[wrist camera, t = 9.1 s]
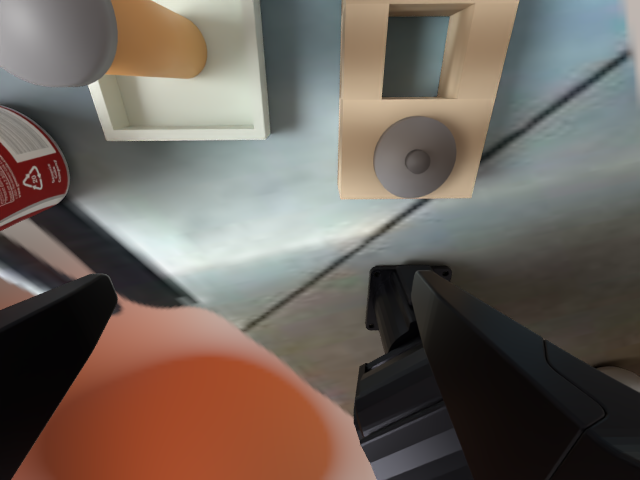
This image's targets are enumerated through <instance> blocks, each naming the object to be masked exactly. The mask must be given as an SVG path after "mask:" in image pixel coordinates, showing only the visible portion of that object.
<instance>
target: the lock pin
mask: <svg viewBox="0 0 640 480" xmlns="http://www.w3.org/2000/svg"><path fill="white" fill-rule="evenodd" d="M206 61H207V46H206V42H205V39H204V37H203V35H202V33H201V31H200V30H199V29H198V27H197V26H196V25H195V24H194V23H193V22H192V21H190V20H189V19H187V18H185V17H183V16H181V15H179V14H177V13H175V12H173V11H171V10H169V9H167V8H165V7H163V6H162V5H160V4H158V3H156V2H154V1H152V0H0V67H2V68H3V69H4V70H6V71H7V72H9V73H11V74H12V75H14V76H16V77H18V78H20V79H22V80H24V81H27V82H29V83H32V84H36V85H40V86H45V87H80V86H85V85H89V84H91V83H94V82H96V81H97V80H99V79H100V78H101V77H103V75H104V74H106V75H125V76H143V77H162V78H180V79H189V78H193V77H195V76H197V75H198V74H199V73H200V72H201V71H202V70H203V68H204V67H205V64H206Z"/></svg>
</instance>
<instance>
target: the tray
mask: <svg viewBox="0 0 640 480" xmlns="http://www.w3.org/2000/svg"><path fill="white" fill-rule="evenodd" d="M152 1H154V2H156V3H158V4H160V5H162V6H163V7H165V8H167V9H169V10H171V11H173V12H175V13H177V14H179V15H181V16H183V17H185V18H187V19H189V20H190V21H192V22H193V23H194V24H195V25H196V26H197V27H198V29H199V30H200V31H201V33H202V35H203V37H204V39H205V42H206V46H207V61H206V64H205V67H204V68H203V70H202V71H201V72H200V73H199V74H198V75H197V76H195V77H193V78H189V79H180V78H162V77H143V76H125V75H106V74H104V75H103V77H101V78H100V79H99V80H97V81H96V82H94V83H91V84H89V85H88V87H89V90H90V93H91V96H92V99H93V102H94V105H95V108H96V111H97V114H98V117H99V120H100V123H101V126H102V129H103V132H104V135H105V138H106V141H180V140H266V139H267V138H268V136H269V135H270V134H271V132H270V119H269V107H268V94H267V82H266V69H265V57H264V44H263V32H262V20H261V7H260V0H152Z"/></svg>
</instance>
